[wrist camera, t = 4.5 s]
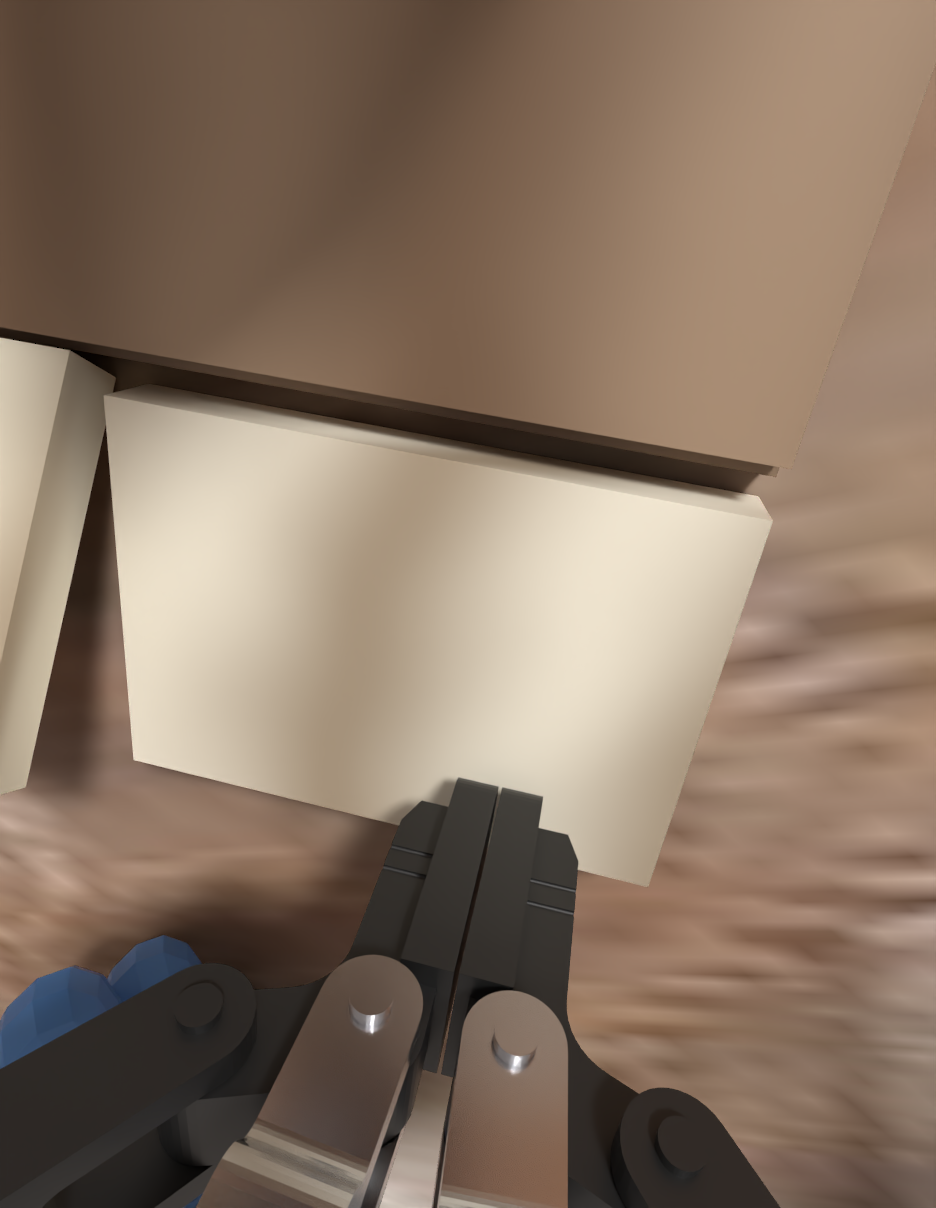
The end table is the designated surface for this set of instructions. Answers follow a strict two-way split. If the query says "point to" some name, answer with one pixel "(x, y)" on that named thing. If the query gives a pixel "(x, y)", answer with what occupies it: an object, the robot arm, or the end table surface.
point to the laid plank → (464, 201)
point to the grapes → (86, 997)
